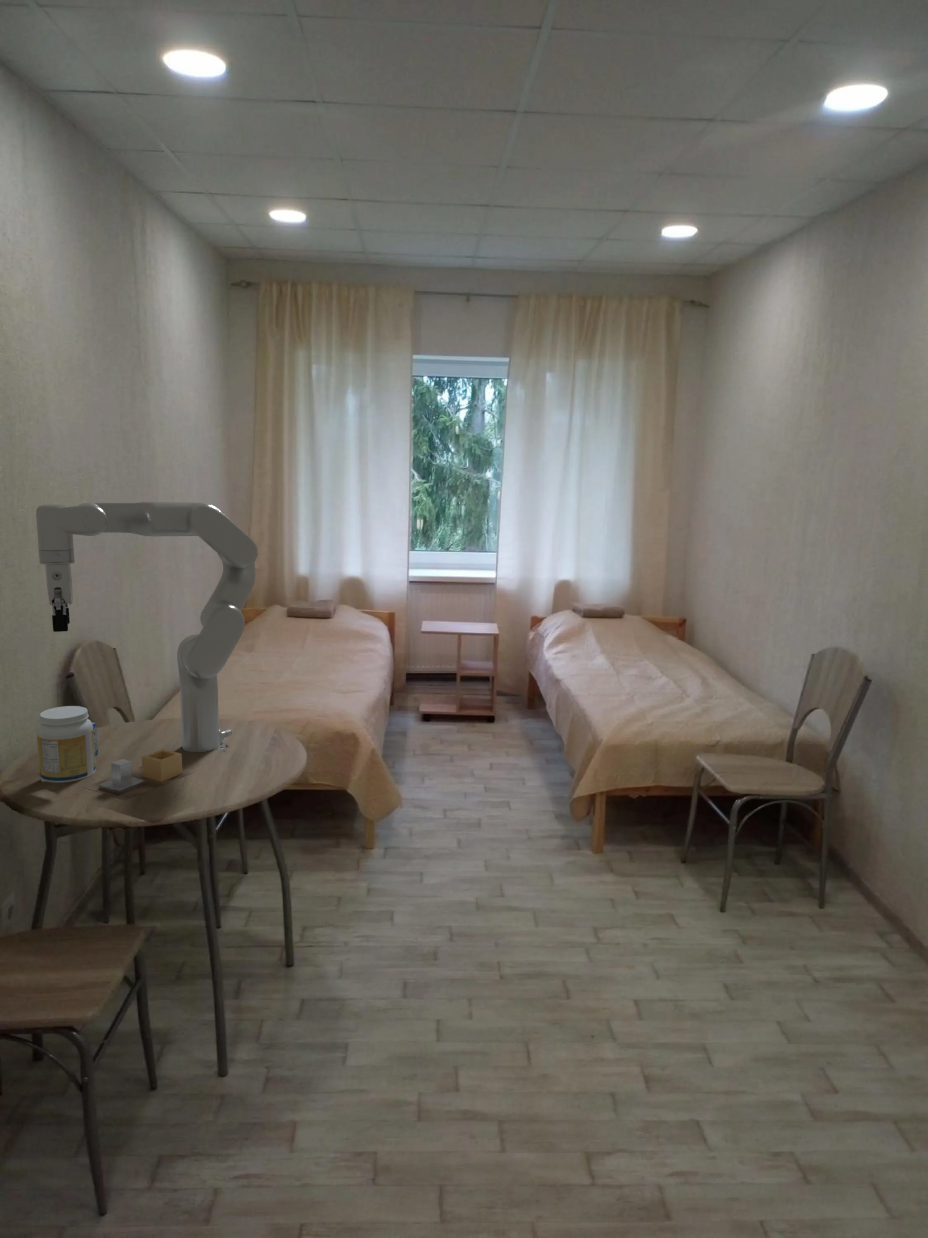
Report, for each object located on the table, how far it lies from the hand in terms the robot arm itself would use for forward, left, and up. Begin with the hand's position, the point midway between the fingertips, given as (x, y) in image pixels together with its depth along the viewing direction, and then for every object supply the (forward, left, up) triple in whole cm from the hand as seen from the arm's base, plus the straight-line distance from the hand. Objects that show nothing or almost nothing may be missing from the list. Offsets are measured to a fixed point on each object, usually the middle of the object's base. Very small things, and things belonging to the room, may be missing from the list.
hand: (61, 627), depth 199 cm
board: (-2, +23, -36) cm, 43 cm away
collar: (-7, +25, -35) cm, 43 cm away
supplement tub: (+4, +5, -36) cm, 37 cm away
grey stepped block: (+3, +23, -35) cm, 42 cm away
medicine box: (-7, -5, -36) cm, 37 cm away
